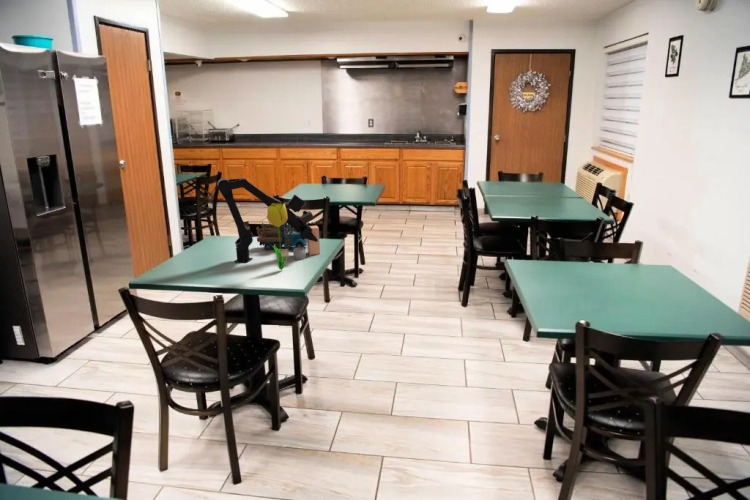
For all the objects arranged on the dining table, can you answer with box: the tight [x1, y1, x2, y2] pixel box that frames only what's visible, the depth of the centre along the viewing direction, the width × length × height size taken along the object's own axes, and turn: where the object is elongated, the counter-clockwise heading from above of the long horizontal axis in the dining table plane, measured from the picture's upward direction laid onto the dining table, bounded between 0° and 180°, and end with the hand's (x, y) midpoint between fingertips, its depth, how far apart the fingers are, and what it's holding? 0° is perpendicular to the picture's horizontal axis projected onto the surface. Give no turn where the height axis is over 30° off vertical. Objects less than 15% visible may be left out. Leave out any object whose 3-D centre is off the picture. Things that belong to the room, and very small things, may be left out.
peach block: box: [307, 225, 321, 256], centre depth 257 cm, size 5×5×13 cm
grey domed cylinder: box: [292, 247, 307, 261], centre depth 251 cm, size 6×6×4 cm
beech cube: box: [278, 248, 290, 262], centre depth 249 cm, size 4×4×4 cm
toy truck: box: [255, 222, 308, 251], centre depth 267 cm, size 11×25×15 cm, turn 86°
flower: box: [266, 203, 288, 272], centre depth 229 cm, size 9×8×30 cm
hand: (316, 239), depth 257 cm, fingers closed on peach block, 5 cm apart
